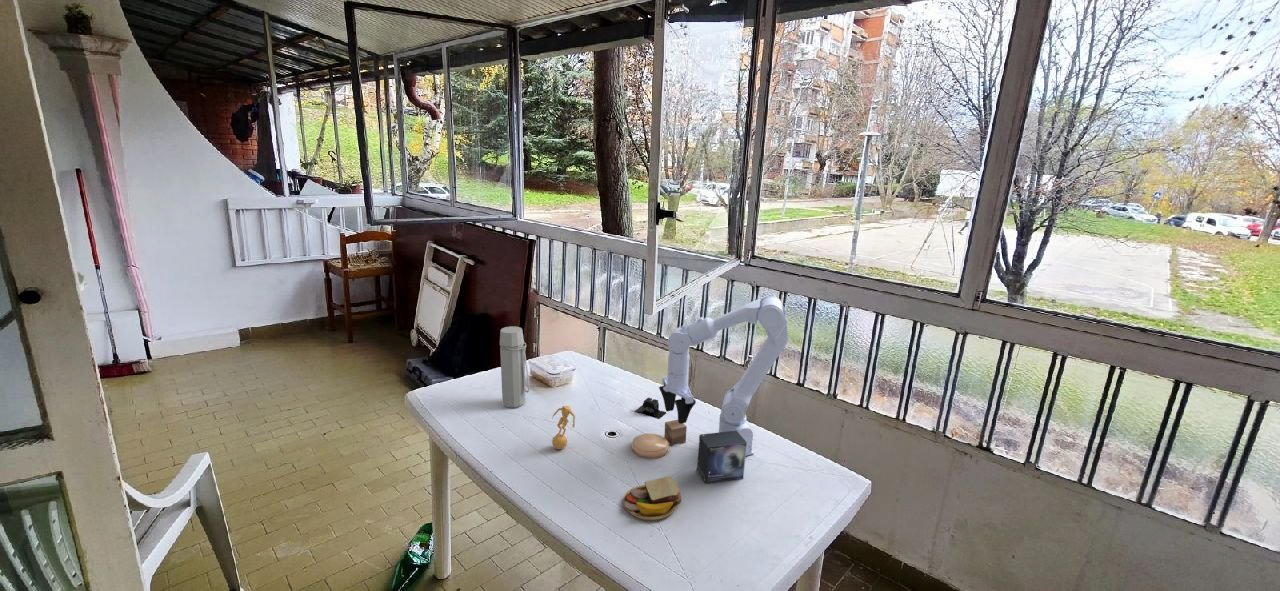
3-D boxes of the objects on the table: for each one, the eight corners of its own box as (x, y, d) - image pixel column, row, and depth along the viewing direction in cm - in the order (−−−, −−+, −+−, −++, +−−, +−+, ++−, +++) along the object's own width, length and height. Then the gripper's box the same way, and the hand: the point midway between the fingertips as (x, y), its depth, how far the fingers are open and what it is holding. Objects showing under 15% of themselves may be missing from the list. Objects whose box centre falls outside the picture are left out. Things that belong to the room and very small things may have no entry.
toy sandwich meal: (621, 490, 131) (621, 473, 129) (676, 487, 132) (676, 470, 131) (625, 524, 119) (625, 506, 117) (685, 521, 120) (686, 503, 119)
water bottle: (497, 407, 170) (493, 332, 164) (510, 397, 177) (507, 324, 171) (523, 412, 167) (521, 335, 161) (535, 401, 175) (533, 327, 168)
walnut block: (685, 442, 153) (686, 426, 151) (671, 445, 151) (672, 429, 149) (678, 434, 156) (678, 419, 155) (664, 437, 155) (664, 422, 153)
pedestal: (674, 453, 146) (675, 447, 146) (641, 461, 142) (641, 454, 142) (658, 436, 155) (658, 430, 155) (626, 443, 151) (626, 436, 151)
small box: (705, 485, 133) (707, 447, 130) (695, 470, 139) (698, 433, 136) (744, 479, 136) (747, 442, 133) (733, 465, 142) (736, 429, 139)
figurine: (543, 446, 149) (542, 406, 146) (559, 437, 153) (558, 398, 150) (565, 456, 144) (565, 415, 141) (581, 447, 148) (580, 407, 145)
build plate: (673, 414, 170) (673, 401, 169) (662, 423, 164) (663, 410, 162) (638, 404, 176) (639, 391, 174) (627, 413, 170) (627, 400, 168)
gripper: (653, 363, 153) (651, 407, 156) (677, 383, 140) (675, 431, 144) (675, 360, 156) (673, 403, 159) (701, 379, 143) (698, 426, 147)
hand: (675, 416), depth 152 cm, fingers open, 7 cm apart
